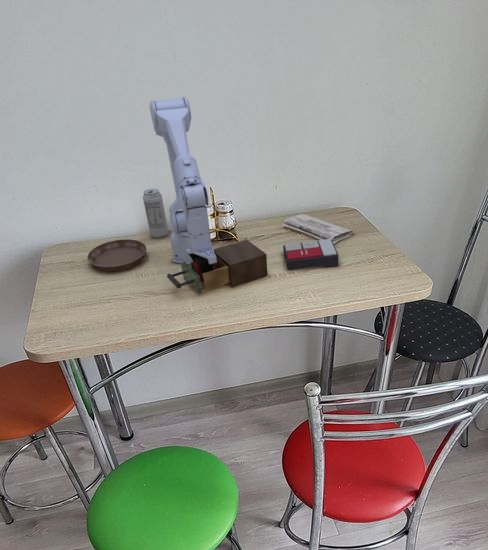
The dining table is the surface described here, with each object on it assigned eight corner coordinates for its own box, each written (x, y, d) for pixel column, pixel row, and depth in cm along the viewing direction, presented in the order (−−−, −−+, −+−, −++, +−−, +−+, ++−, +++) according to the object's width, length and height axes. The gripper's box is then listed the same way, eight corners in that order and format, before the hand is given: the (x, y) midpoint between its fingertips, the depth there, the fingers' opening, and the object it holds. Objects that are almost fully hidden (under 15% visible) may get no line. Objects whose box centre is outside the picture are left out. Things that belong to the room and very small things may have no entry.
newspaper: (279, 227, 165) (279, 219, 164) (304, 220, 172) (305, 213, 171) (329, 246, 151) (330, 238, 150) (354, 237, 158) (355, 230, 157)
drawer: (180, 300, 128) (177, 283, 125) (166, 284, 135) (163, 267, 132) (232, 283, 134) (231, 266, 131) (216, 269, 141) (214, 252, 138)
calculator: (282, 242, 147) (331, 236, 147) (283, 255, 150) (331, 249, 150) (286, 259, 138) (338, 252, 138) (287, 272, 141) (338, 266, 141)
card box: (199, 282, 133) (196, 264, 130) (196, 279, 135) (193, 261, 131) (215, 277, 135) (213, 259, 132) (211, 274, 136) (209, 256, 133)
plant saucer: (130, 277, 141) (128, 268, 139) (78, 271, 145) (75, 262, 143) (158, 250, 154) (156, 241, 152) (109, 245, 158) (106, 237, 157)
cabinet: (232, 287, 134) (230, 265, 130) (214, 271, 142) (211, 249, 138) (267, 275, 138) (266, 253, 134) (248, 260, 146) (246, 239, 142)
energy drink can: (171, 232, 165) (163, 188, 156) (164, 239, 161) (156, 195, 152) (155, 231, 167) (146, 187, 157) (147, 238, 162) (138, 194, 153)
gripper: (173, 225, 130) (181, 270, 138) (195, 244, 120) (202, 292, 128) (197, 219, 132) (204, 263, 141) (221, 237, 122) (226, 284, 131)
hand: (205, 277), depth 134 cm, fingers closed on card box, 2 cm apart
